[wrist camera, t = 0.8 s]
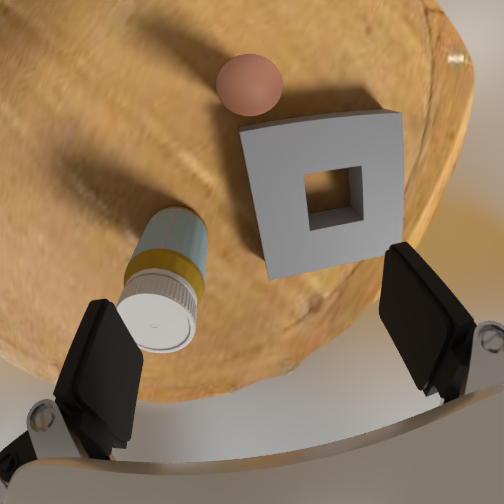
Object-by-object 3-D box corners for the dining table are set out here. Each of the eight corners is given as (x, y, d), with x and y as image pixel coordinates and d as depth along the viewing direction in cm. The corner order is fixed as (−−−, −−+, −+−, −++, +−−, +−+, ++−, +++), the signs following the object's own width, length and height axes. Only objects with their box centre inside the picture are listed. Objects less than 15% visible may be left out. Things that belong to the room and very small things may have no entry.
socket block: (237, 127, 28) (239, 132, 25) (383, 108, 28) (401, 112, 25) (264, 261, 37) (269, 280, 33) (386, 235, 36) (400, 250, 33)
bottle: (145, 204, 32) (98, 286, 19) (207, 203, 32) (198, 288, 19) (151, 258, 35) (120, 354, 22) (208, 259, 36) (203, 357, 23)
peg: (215, 72, 25) (210, 61, 15) (256, 65, 25) (276, 49, 15) (223, 110, 28) (223, 122, 17) (263, 102, 27) (287, 110, 17)
